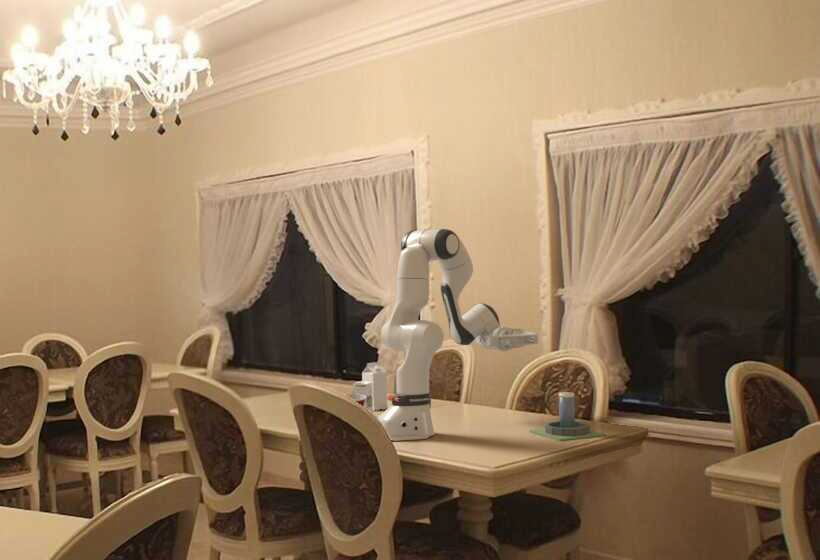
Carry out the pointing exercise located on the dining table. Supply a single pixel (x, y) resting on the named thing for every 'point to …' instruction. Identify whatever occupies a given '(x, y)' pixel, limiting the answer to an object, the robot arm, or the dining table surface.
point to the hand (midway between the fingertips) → (522, 341)
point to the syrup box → (364, 392)
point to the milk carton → (376, 384)
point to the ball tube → (566, 410)
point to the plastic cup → (358, 398)
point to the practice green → (567, 431)
